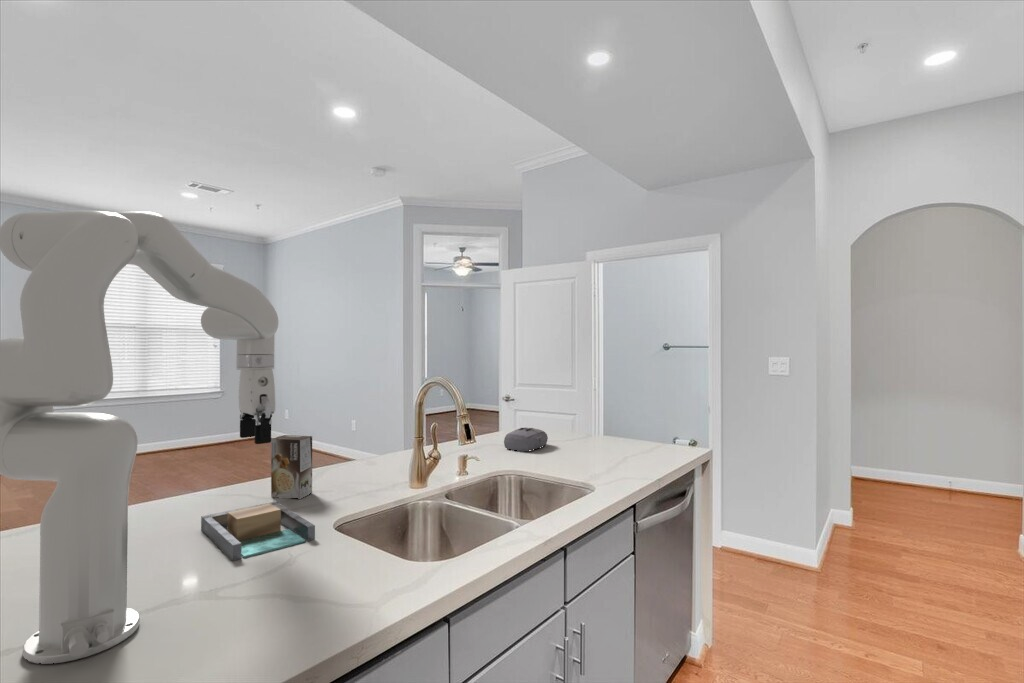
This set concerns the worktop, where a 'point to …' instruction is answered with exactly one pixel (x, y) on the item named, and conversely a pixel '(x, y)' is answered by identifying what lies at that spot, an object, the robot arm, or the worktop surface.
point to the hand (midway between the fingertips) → (255, 440)
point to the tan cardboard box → (254, 521)
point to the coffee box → (291, 466)
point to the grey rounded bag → (525, 439)
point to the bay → (260, 544)
